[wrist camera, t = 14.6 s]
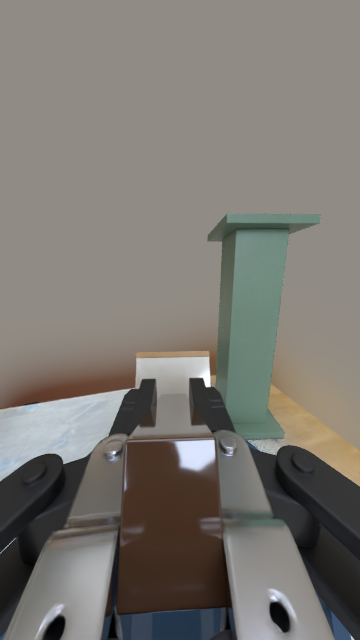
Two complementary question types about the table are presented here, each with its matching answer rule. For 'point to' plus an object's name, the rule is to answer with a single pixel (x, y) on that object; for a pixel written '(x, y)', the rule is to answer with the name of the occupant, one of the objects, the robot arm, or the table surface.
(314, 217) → the stand
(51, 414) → the table surface
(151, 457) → the mallet with brown handle
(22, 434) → the table surface
